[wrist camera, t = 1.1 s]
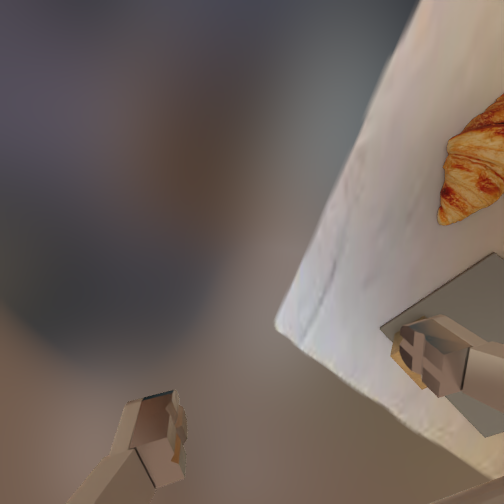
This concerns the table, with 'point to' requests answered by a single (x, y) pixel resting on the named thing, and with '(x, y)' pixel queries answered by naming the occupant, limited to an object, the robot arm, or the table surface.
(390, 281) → the table surface
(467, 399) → the charcoal mat
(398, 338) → the brass knob block
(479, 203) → the croissant
